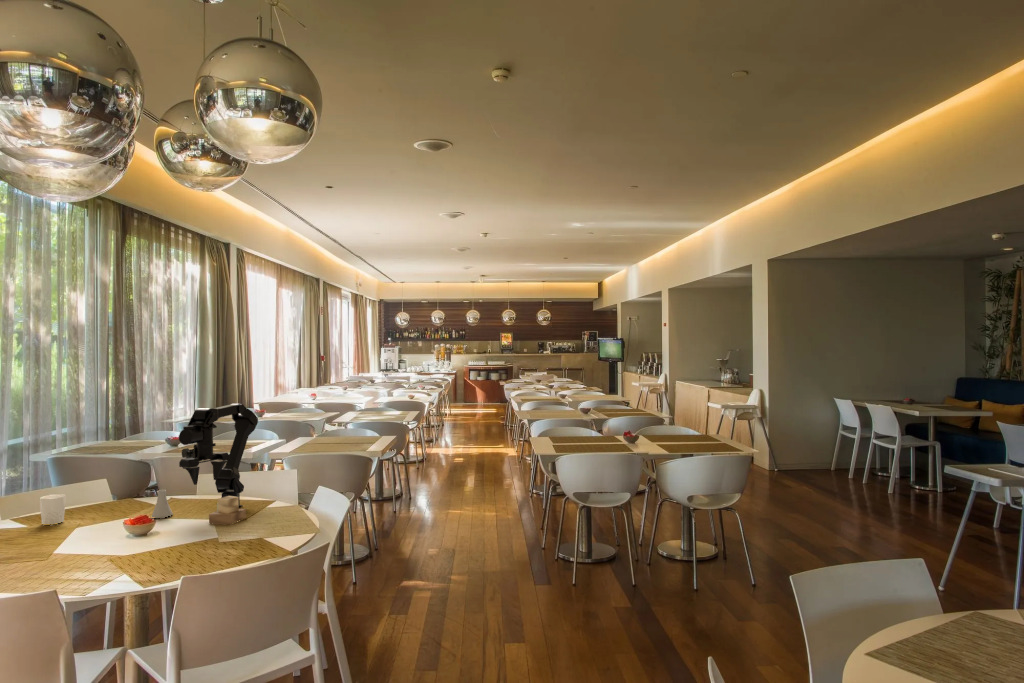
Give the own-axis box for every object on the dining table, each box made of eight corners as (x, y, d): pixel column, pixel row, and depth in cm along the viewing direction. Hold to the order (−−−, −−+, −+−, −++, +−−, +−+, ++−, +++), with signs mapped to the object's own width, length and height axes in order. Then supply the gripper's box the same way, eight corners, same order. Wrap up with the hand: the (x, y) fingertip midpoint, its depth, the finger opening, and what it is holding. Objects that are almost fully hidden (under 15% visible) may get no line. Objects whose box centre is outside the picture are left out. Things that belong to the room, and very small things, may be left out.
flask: (176, 514, 256) (176, 488, 256) (165, 519, 249) (164, 492, 249) (159, 514, 257) (158, 488, 257) (147, 519, 250) (146, 492, 250)
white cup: (34, 525, 244) (34, 498, 244) (56, 519, 251) (56, 493, 251) (49, 527, 241) (48, 499, 241) (70, 521, 248) (70, 494, 248)
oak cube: (229, 509, 248) (229, 495, 249) (238, 510, 246) (238, 497, 246) (218, 512, 244) (217, 498, 244) (227, 513, 242) (227, 499, 242)
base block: (224, 518, 250) (224, 508, 250) (246, 519, 248) (245, 508, 248) (209, 525, 241) (208, 514, 241) (231, 526, 240) (231, 515, 240)
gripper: (209, 437, 264) (209, 476, 264) (168, 443, 247) (168, 485, 247) (230, 438, 260) (230, 478, 260) (190, 445, 243) (190, 487, 243)
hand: (205, 482), depth 252 cm, fingers open, 9 cm apart
